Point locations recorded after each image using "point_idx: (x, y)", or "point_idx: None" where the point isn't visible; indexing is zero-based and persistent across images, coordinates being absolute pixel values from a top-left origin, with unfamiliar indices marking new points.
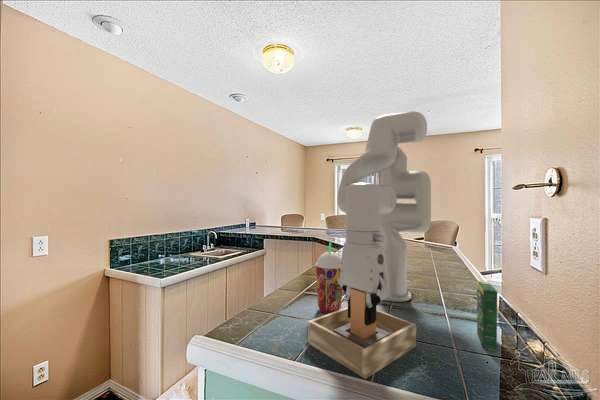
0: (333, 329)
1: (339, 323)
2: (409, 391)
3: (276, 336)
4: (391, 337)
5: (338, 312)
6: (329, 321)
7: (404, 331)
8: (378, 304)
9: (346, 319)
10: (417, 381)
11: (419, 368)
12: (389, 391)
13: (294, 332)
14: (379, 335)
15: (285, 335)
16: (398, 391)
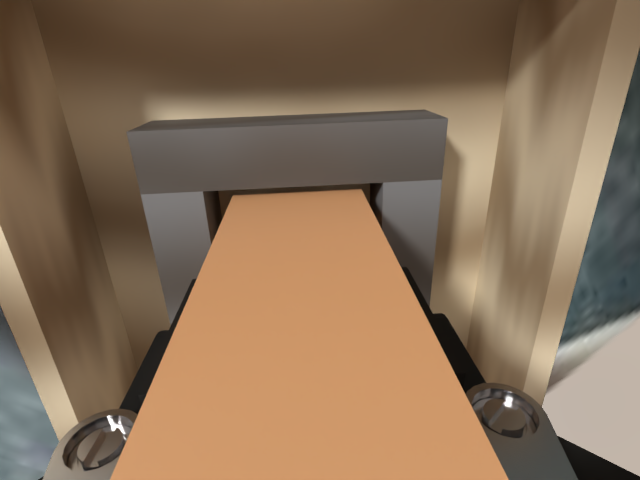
0: (107, 290)
1: (81, 251)
2: (614, 323)
3: (20, 475)
4: (568, 301)
5: (37, 310)
6: (89, 362)
7: (609, 135)
8: (523, 393)
9: (53, 179)
10: (626, 255)
11: (614, 166)
12: (558, 370)
13: (10, 408)
14: (410, 214)
15: (25, 447)
16: (582, 349)
